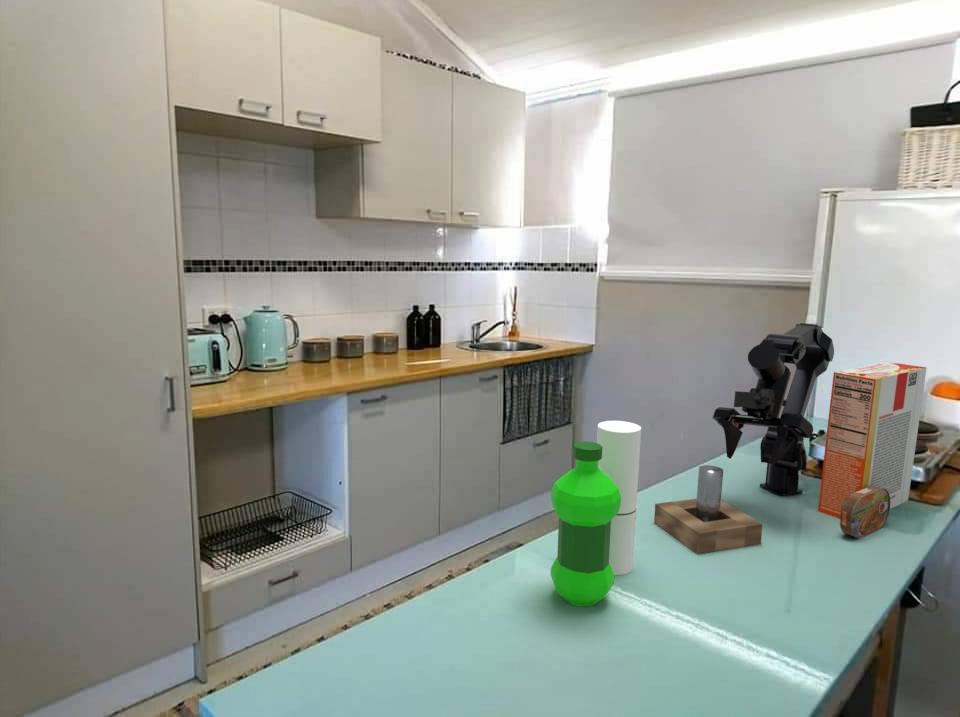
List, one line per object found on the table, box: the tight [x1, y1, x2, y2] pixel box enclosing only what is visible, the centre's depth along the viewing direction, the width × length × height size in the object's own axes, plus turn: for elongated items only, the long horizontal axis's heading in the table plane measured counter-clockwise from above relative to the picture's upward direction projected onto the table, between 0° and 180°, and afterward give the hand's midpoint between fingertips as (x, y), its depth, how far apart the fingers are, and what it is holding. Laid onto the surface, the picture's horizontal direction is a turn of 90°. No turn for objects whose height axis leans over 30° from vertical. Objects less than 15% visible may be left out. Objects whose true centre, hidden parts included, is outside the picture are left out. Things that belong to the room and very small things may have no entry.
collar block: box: [653, 497, 764, 555], centre depth 127 cm, size 14×14×4 cm
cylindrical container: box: [596, 420, 642, 576], centre depth 112 cm, size 7×7×25 cm
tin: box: [839, 486, 891, 539], centre depth 129 cm, size 15×3×8 cm, turn 124°
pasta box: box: [817, 361, 928, 520], centre depth 139 cm, size 23×8×30 cm, turn 125°
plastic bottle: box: [550, 441, 621, 608], centre depth 101 cm, size 10×10×25 cm
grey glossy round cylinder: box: [695, 464, 724, 522], centre depth 126 cm, size 4×4×13 cm
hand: (749, 461), depth 130 cm, fingers open, 9 cm apart
